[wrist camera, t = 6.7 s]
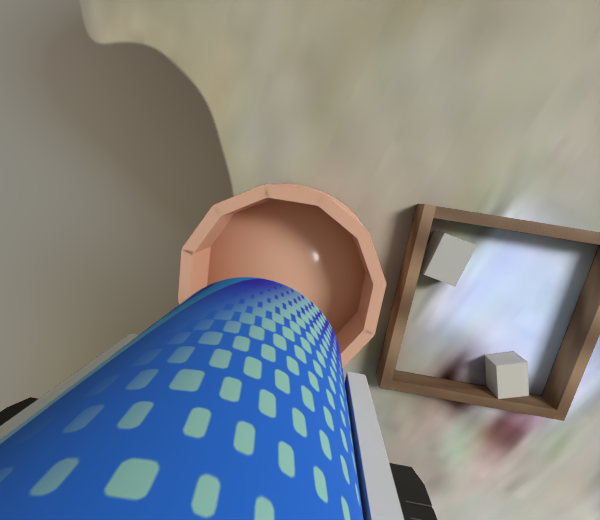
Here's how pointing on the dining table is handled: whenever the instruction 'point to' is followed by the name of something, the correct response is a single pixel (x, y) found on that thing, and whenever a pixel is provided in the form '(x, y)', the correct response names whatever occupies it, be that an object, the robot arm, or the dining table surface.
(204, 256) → the dish
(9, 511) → the beer can
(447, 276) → the stone
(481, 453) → the dining table surface
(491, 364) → the stone
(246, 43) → the dining table surface
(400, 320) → the tray
